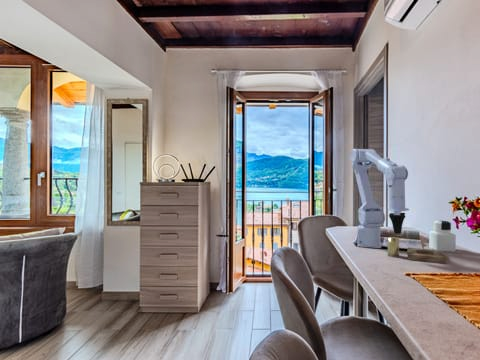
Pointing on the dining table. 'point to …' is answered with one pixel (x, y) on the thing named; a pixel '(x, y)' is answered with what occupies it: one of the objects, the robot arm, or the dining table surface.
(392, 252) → the brass peg
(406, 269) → the dining table surface
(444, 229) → the medicine bottle
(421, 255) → the square tan frame
